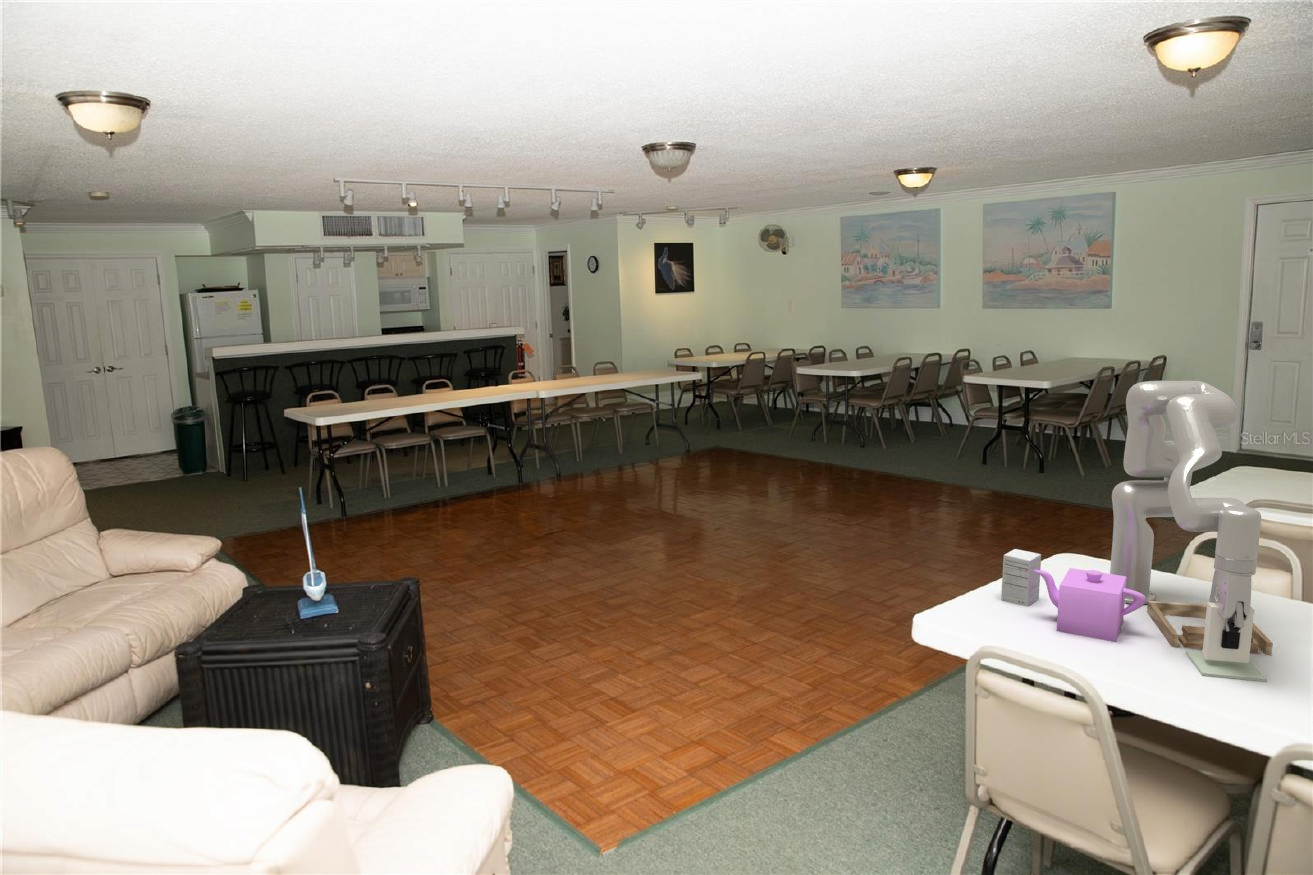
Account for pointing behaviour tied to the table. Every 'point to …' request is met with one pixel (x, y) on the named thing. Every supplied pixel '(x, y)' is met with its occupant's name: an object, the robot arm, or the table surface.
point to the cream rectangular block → (1214, 637)
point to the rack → (1192, 610)
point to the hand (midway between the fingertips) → (1226, 644)
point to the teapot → (1091, 602)
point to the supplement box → (1021, 577)
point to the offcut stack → (1195, 638)
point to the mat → (1225, 668)
